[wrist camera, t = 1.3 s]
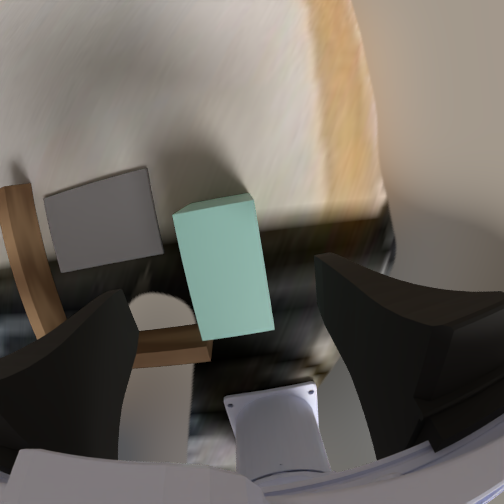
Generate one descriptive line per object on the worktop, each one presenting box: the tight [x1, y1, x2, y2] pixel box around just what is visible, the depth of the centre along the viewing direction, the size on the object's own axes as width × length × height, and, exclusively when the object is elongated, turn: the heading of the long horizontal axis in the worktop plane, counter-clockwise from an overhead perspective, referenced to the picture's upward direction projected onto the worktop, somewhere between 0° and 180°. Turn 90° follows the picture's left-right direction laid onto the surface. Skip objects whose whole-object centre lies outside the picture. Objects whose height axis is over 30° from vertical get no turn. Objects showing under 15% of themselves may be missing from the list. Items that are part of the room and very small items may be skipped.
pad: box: [43, 168, 164, 273], centre depth 20 cm, size 6×9×1 cm, turn 99°
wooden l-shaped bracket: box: [0, 183, 213, 369], centre depth 19 cm, size 15×14×4 cm
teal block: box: [172, 193, 275, 341], centre depth 18 cm, size 7×4×6 cm, turn 9°
